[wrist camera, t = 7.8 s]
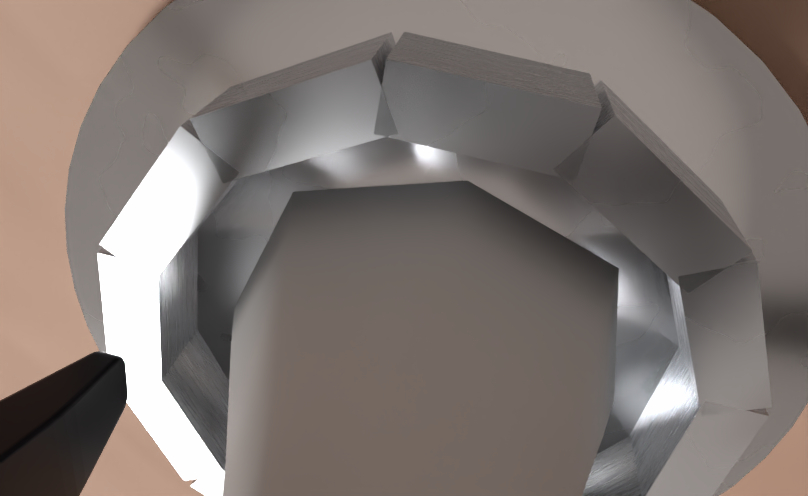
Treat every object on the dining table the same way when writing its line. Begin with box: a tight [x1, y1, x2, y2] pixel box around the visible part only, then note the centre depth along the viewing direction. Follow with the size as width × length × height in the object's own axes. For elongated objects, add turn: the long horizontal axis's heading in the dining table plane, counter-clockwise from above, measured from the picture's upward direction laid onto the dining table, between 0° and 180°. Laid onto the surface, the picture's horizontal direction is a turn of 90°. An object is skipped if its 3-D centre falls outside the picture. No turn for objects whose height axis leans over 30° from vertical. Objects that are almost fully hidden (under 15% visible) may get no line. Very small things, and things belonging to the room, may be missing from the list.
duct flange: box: [65, 0, 808, 496], centre depth 11 cm, size 14×14×2 cm
